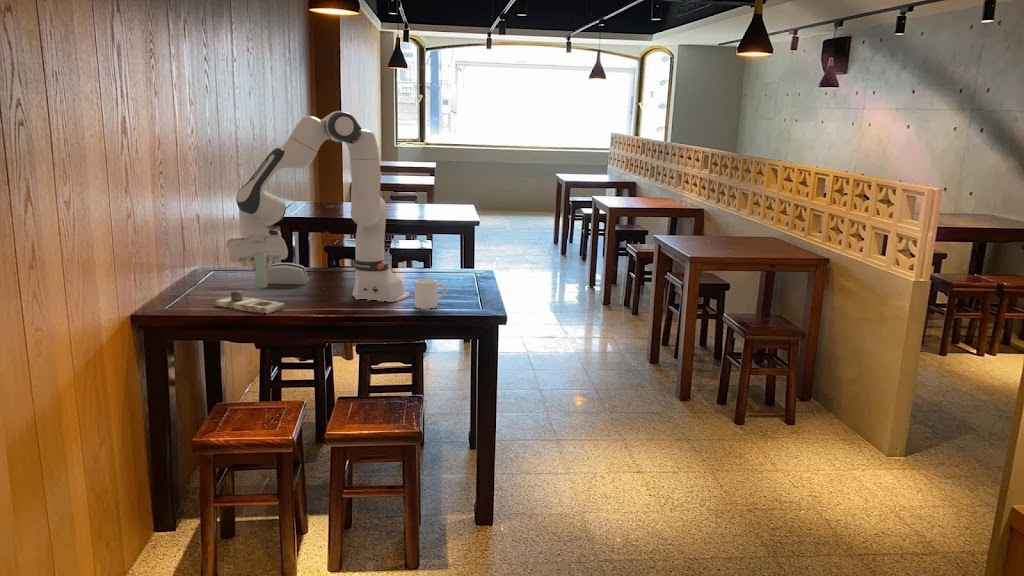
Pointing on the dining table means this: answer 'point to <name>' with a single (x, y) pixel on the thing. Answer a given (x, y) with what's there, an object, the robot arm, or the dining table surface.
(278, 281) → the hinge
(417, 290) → the mug
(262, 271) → the peg
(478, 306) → the dining table surface
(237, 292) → the hole plate
